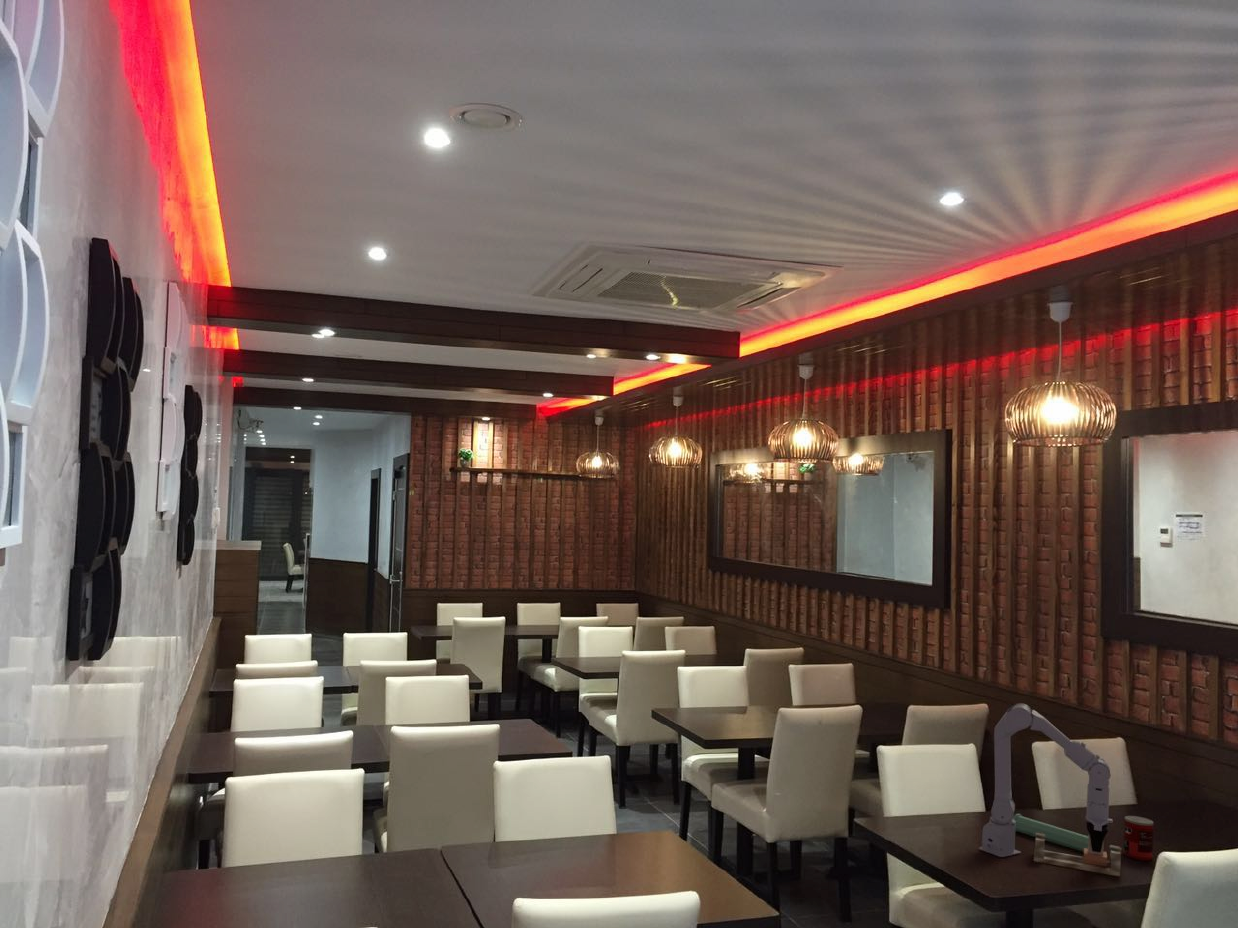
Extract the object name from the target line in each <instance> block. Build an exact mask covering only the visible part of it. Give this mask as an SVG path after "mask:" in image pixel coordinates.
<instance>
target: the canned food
mask: <svg viewBox="0 0 1238 928" xmlns="http://www.w3.org/2000/svg"><path fill="white" fill-rule="evenodd" d="M1123 820H1124V821H1123V822H1124V823H1123V824H1124V826H1123V854H1124V855H1125V856H1126V857H1128V858H1131V859H1133V860H1134V859H1135V860H1139V861H1151V860H1152V858H1153V857H1154V856H1153V853H1154V828H1155V827H1154V821H1153V820H1151V819H1149V818H1146V817H1142V816H1137V815H1126V816H1124V819H1123Z"/></svg>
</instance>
